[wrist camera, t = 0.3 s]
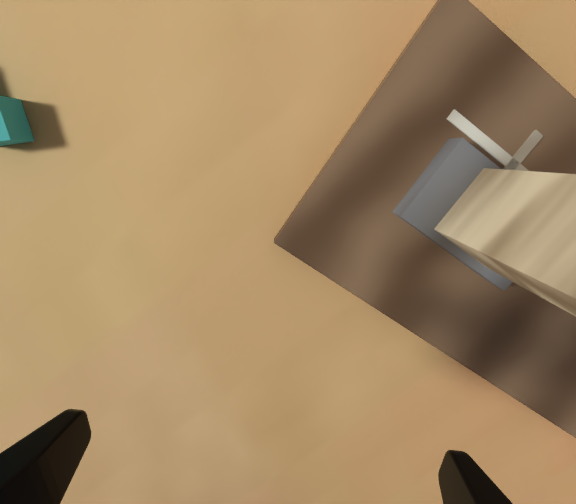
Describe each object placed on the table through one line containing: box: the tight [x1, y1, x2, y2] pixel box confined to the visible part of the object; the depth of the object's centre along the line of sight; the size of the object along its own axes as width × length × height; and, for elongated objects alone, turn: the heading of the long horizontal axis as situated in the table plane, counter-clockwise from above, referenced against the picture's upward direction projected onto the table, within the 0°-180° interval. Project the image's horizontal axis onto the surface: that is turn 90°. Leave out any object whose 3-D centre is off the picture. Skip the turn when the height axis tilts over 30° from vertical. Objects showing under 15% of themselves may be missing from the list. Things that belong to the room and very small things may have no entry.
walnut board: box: [274, 0, 576, 438], centre depth 22 cm, size 34×16×1 cm, turn 56°
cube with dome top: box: [393, 138, 576, 316], centre depth 14 cm, size 8×5×12 cm, turn 56°
